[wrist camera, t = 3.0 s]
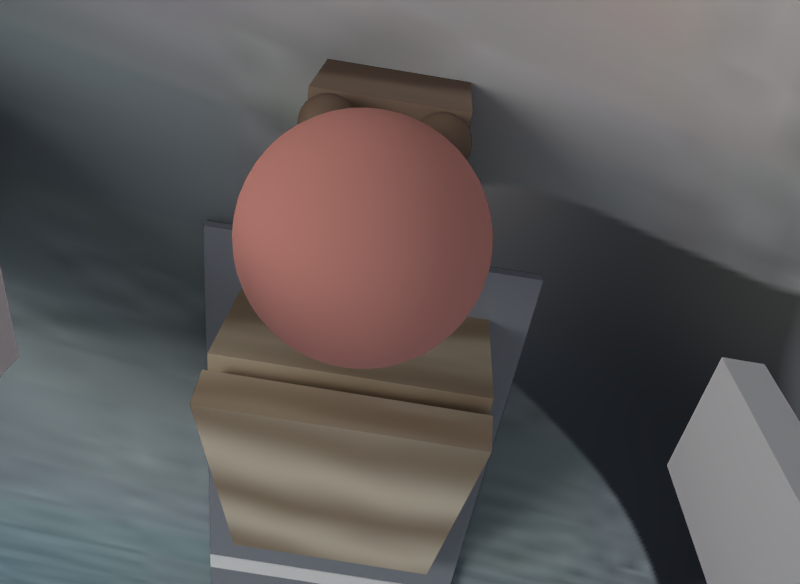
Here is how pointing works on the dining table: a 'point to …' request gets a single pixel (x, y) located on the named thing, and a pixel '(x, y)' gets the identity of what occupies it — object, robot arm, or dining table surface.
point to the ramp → (343, 444)
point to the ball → (362, 238)
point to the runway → (508, 324)
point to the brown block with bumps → (394, 97)
